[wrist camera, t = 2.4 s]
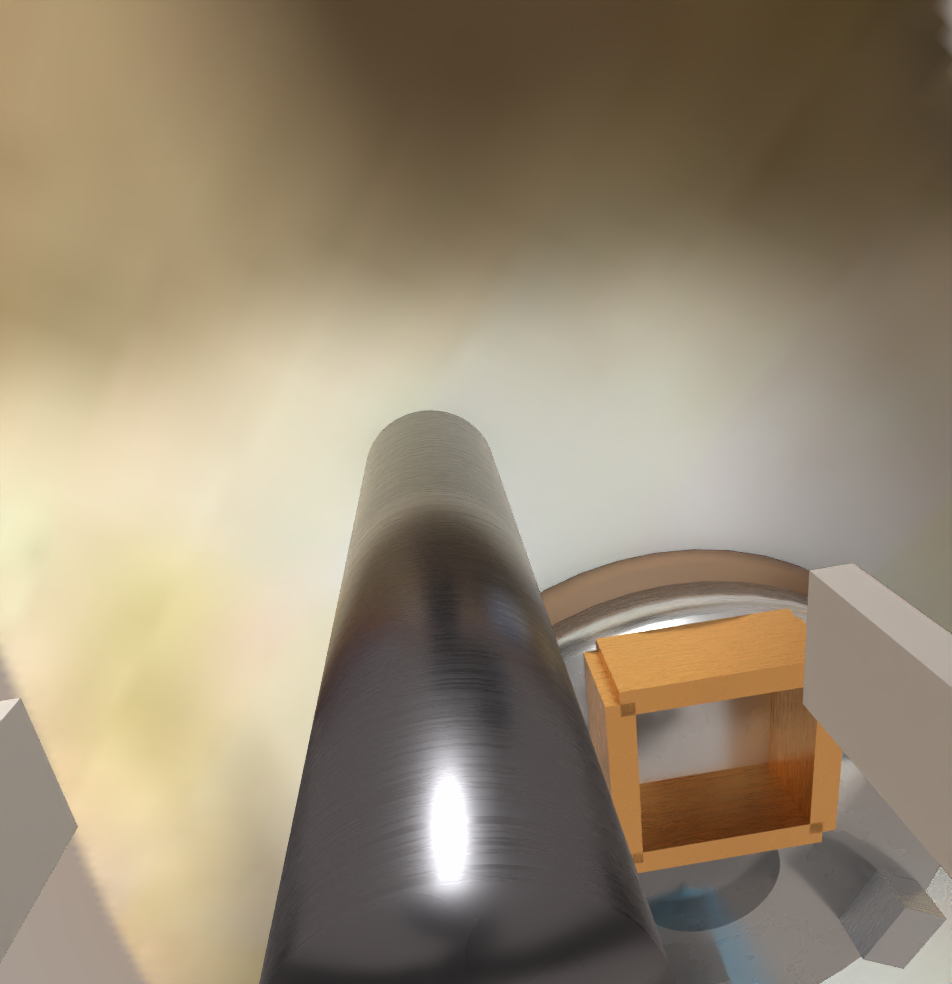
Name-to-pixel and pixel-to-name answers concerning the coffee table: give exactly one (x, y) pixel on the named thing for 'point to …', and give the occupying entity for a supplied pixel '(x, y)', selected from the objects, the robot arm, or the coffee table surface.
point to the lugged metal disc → (741, 789)
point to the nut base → (668, 577)
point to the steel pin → (451, 758)
